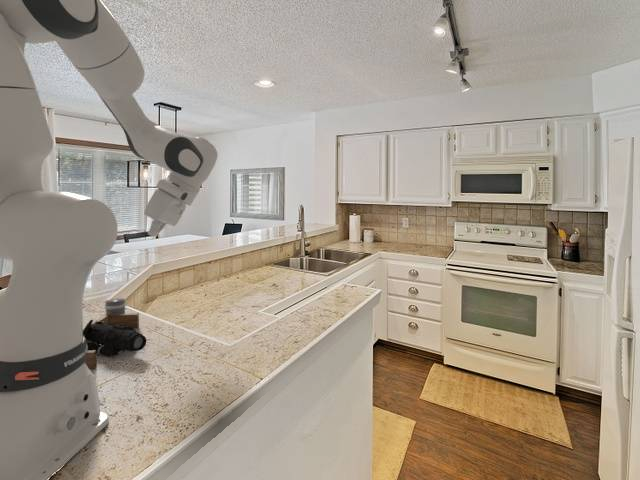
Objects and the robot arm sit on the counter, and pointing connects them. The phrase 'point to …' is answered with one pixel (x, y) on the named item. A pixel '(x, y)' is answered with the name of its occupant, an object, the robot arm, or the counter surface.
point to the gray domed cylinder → (115, 306)
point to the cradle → (111, 320)
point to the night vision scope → (112, 338)
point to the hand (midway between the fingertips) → (151, 235)
